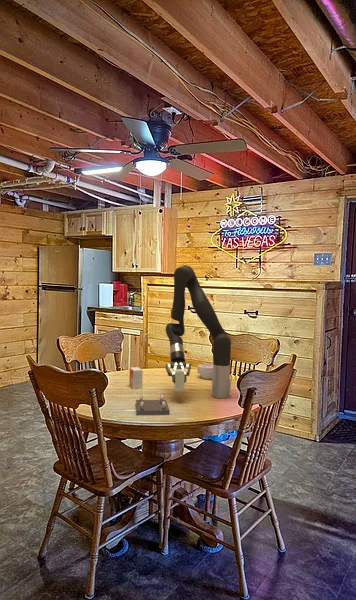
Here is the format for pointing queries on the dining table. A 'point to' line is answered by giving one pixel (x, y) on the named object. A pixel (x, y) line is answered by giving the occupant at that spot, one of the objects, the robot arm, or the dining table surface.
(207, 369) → the paper bowls
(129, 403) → the dining table surface
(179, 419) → the dining table surface
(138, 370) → the small box
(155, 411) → the pin plate
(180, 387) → the beige tall block
